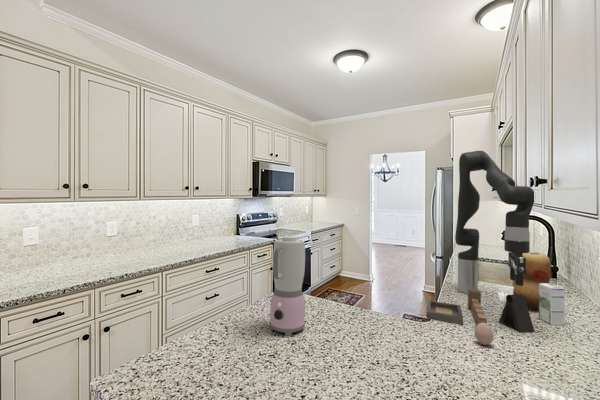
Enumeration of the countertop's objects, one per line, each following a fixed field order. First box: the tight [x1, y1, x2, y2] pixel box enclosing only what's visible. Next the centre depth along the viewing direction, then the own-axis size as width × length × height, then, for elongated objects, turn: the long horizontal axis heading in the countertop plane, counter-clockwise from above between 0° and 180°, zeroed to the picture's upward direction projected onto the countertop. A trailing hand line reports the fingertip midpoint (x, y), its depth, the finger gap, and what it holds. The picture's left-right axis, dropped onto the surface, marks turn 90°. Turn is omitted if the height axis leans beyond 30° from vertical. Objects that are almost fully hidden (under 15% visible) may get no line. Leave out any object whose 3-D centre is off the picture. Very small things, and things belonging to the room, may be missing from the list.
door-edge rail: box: [467, 289, 488, 326], centre depth 113 cm, size 28×4×8 cm, turn 154°
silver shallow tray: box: [426, 299, 464, 326], centre depth 117 cm, size 15×12×3 cm
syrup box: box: [538, 282, 566, 326], centre depth 112 cm, size 6×6×14 cm
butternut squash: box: [512, 251, 552, 310], centre depth 127 cm, size 14×13×25 cm
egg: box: [474, 323, 494, 346], centre depth 92 cm, size 5×5×7 cm
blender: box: [269, 235, 306, 337], centre depth 99 cm, size 16×12×32 cm
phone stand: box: [498, 294, 535, 333], centre depth 106 cm, size 9×6×12 cm, turn 9°
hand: (516, 282), depth 107 cm, fingers open, 8 cm apart
